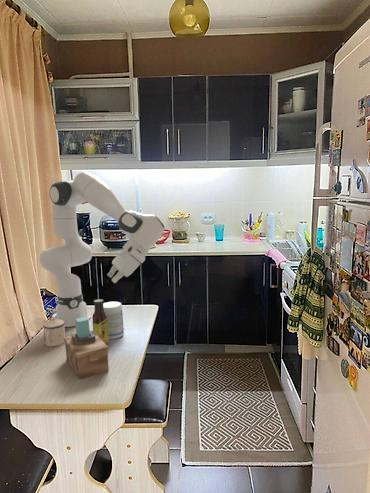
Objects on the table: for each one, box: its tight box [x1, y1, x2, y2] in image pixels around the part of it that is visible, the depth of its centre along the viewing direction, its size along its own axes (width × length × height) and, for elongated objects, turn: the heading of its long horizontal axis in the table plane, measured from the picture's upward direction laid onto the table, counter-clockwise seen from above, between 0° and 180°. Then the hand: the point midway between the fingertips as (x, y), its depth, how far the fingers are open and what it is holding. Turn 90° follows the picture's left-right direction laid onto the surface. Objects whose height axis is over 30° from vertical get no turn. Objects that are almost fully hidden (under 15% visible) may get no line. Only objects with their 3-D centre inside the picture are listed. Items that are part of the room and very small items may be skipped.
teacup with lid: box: [42, 316, 66, 347], centre depth 180 cm, size 12×9×12 cm
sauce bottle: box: [91, 298, 109, 346], centre depth 176 cm, size 6×6×20 cm
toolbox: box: [63, 329, 110, 380], centre depth 159 cm, size 19×12×12 cm, turn 30°
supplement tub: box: [103, 301, 125, 340], centre depth 187 cm, size 10×10×15 cm
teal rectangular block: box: [75, 317, 91, 339], centre depth 159 cm, size 4×4×8 cm
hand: (110, 279), depth 160 cm, fingers open, 8 cm apart
